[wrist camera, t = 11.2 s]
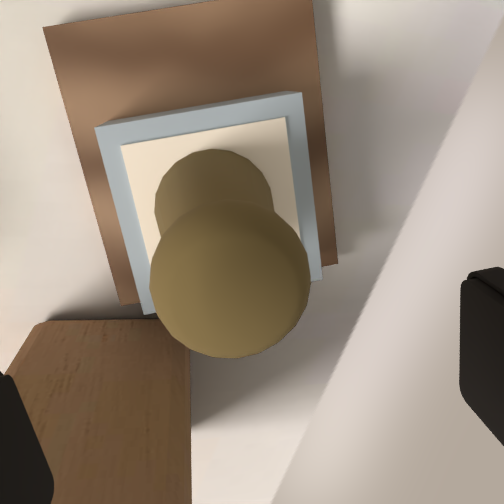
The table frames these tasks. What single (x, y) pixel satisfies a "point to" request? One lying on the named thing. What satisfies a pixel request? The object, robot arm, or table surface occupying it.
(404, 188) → the table surface
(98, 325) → the block
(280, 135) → the slate plinth
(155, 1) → the table surface
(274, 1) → the brown board
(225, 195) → the olive pawn
